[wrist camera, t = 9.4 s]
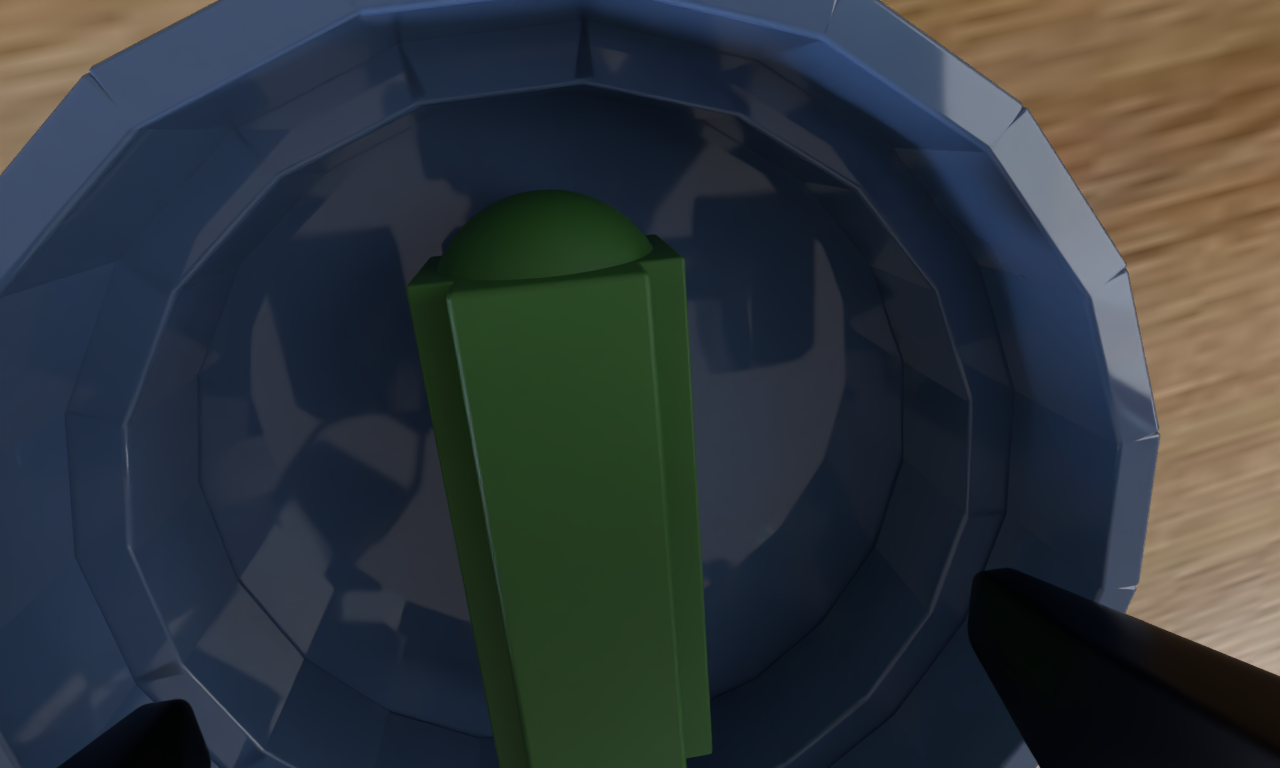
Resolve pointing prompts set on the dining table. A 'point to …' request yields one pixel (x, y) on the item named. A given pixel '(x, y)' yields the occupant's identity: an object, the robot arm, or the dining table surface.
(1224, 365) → the dining table surface
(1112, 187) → the dining table surface
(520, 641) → the green domed grooved pillar
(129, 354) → the bowl
